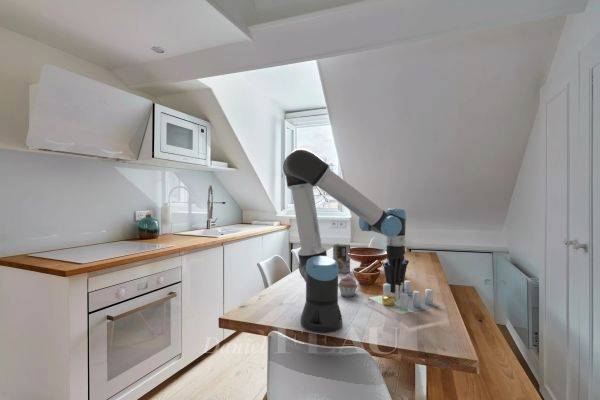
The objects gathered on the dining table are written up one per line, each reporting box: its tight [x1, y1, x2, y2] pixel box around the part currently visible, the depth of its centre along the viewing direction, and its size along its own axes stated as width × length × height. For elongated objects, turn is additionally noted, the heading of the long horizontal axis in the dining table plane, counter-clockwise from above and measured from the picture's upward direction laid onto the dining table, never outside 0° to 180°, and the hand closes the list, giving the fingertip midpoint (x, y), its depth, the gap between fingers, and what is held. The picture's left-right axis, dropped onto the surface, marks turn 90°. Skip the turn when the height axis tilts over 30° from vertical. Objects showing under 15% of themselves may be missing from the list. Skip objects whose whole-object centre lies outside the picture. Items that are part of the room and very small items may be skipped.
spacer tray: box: [368, 280, 441, 315], centre depth 129 cm, size 22×20×7 cm
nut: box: [382, 295, 395, 307], centre depth 126 cm, size 5×5×3 cm
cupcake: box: [338, 273, 359, 298], centre depth 140 cm, size 9×9×10 cm
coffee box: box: [332, 243, 351, 274], centre depth 183 cm, size 9×6×16 cm
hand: (394, 299), depth 127 cm, fingers closed
